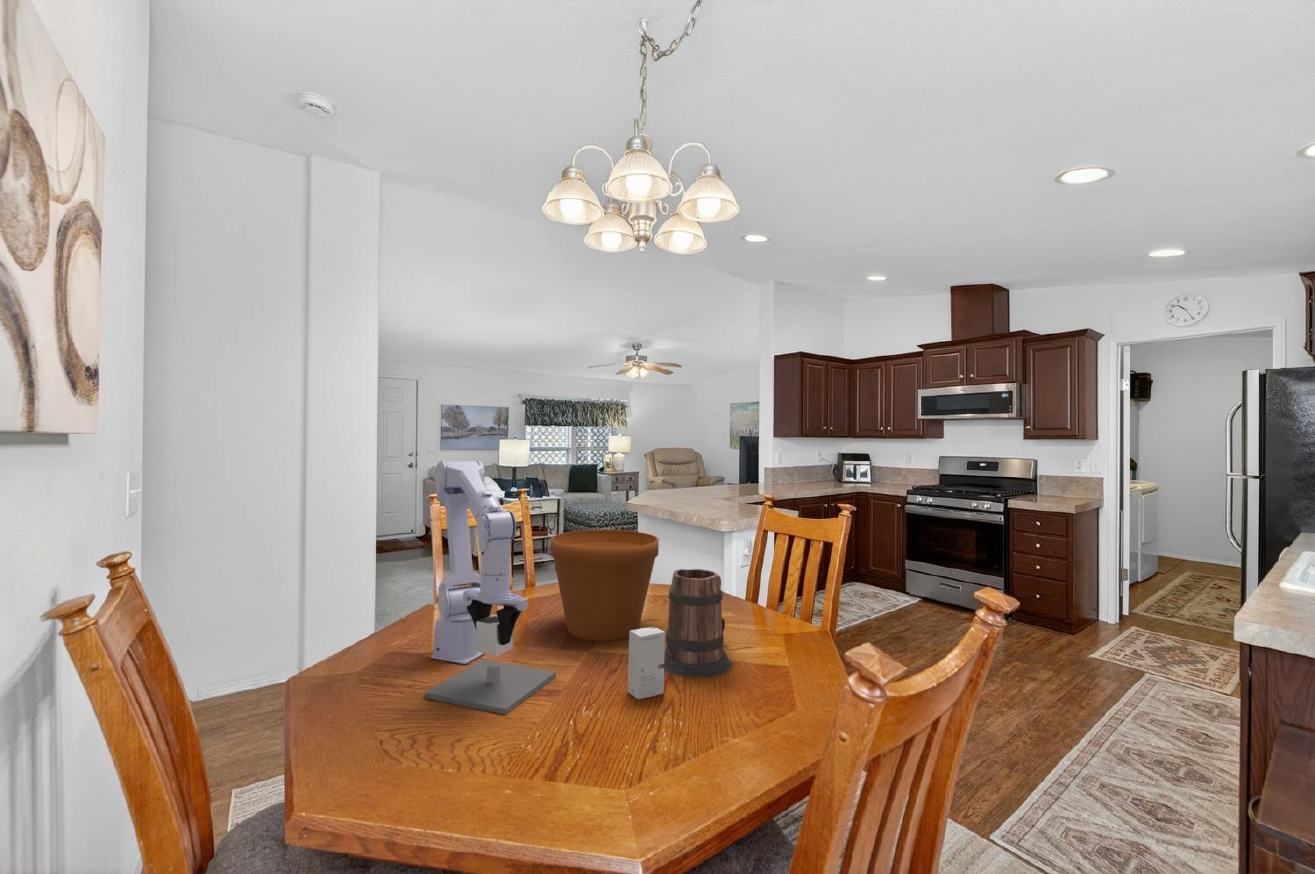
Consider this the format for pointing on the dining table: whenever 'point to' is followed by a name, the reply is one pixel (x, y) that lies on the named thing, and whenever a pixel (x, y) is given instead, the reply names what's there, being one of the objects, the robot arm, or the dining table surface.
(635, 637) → the skincare box
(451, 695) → the block
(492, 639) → the square socket
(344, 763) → the dining table surface
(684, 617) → the tankard
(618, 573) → the flowerpot
